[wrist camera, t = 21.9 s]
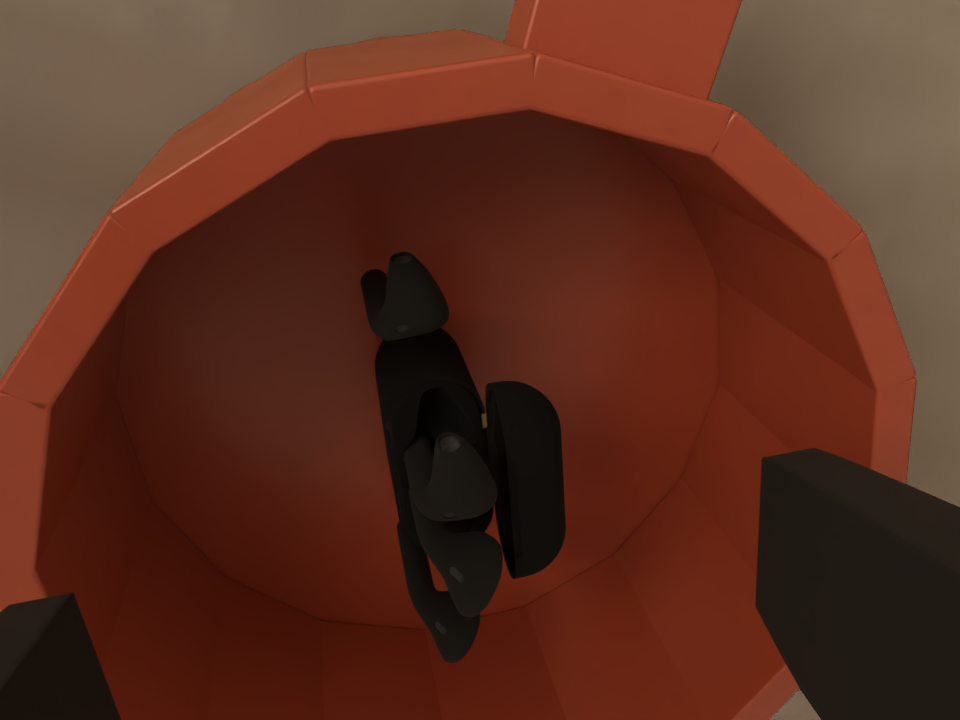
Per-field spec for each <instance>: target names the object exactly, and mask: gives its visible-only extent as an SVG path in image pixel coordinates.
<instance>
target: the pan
mask: <svg viewBox="0 0 960 720" xmlns="http://www.w3.org/2000/svg"><path fill="white" fill-rule="evenodd" d="M741 2H742V0H515V4H514V8H513V11H512V15H511V19H510V23H509V27H508V31H507V34H506V38H505V41H502V40H498V39H495V38H491V37H488V36H484V35H481V34H477V33H474V32H470V31H467V30H456V29H450V30H443V31H436V32H430V33H423V34H416V35H407V36H393V37H380V38H375V39H371V40H366V41H361V42H357V43H352V44H348V45H341V46H334V47H327V48H320V49H313V50H308V51H307V52H306V53H304V52H302V53H300V54H298V55H297V56H295V57H293V58H292V59H290V60H289V61H287V62H286V63H284V64H282V65H281V66H279V67H278V68H276V69H275V70H273V71H271V72H270V73H268V74H267V75H265V76H264V77H262V78H260V79H258V80H256V81H254V82H253V83H251V84H249V85H247V86H245V87H243V88H241V89H240V90H238V91H237V92H236V93H234V94H233V95H231V96H230V97H229V98H227V99H226V100H225V101H223V102H222V103H221V104H219V105H218V106H217V107H215V108H213V109H212V110H210V111H209V112H207V113H206V114H204V115H202V116H201V117H199V118H198V119H196V120H195V121H193V122H191V123H190V124H188V125H187V126H185V127H184V128H182V129H180V130H179V131H177V132H176V133H174V134H173V136H172V137H171V138H170V139H169V140H168V141H167V142H166V143H165V144H164V146H163V147H162V148H161V149H160V150H159V152H158V153H157V154H156V155H155V156H154V158H153V159H152V160H151V161H150V162H149V163H148V165H147V166H146V167H145V168H144V169H143V171H142V172H141V173H140V174H139V175H138V177H137V178H136V179H135V180H134V181H133V183H132V184H131V185H130V186H129V187H128V189H127V190H126V191H125V192H124V193H123V195H122V196H121V197H120V198H119V199H118V201H117V202H116V203H115V204H114V205H113V206H112V208H111V209H110V210H109V211H108V212H107V214H106V215H105V216H104V218H103V219H102V221H101V222H100V224H99V226H98V227H97V229H96V230H95V232H94V233H93V235H92V237H91V238H90V240H89V241H88V243H87V245H86V246H85V248H84V249H83V251H82V252H81V254H80V256H79V257H78V259H77V260H76V262H75V263H74V265H73V267H72V268H71V270H70V271H69V273H68V275H67V276H66V278H65V279H64V281H63V282H62V284H61V286H60V287H59V289H58V290H57V292H56V293H55V295H54V297H53V298H52V300H51V301H50V303H49V305H48V306H47V308H46V309H45V311H44V312H43V314H42V316H41V317H40V319H39V320H38V322H37V323H36V325H35V327H34V328H33V330H32V331H31V333H30V335H29V336H28V338H27V339H26V341H25V342H24V344H23V346H22V347H21V349H20V350H19V352H18V354H17V355H16V357H15V358H14V360H13V361H12V363H11V365H10V366H9V368H8V369H7V371H6V372H5V374H4V376H3V377H2V379H1V380H0V612H1V611H2V610H3V609H5V608H6V607H7V606H8V605H11V604H16V603H21V602H26V601H31V600H37V599H42V598H47V597H52V596H57V595H62V594H67V593H72V592H73V593H74V595H75V598H76V601H77V603H78V606H79V609H80V611H81V614H82V617H83V619H84V622H85V625H86V627H87V630H88V633H89V635H90V638H91V641H92V643H93V646H94V649H95V651H96V654H97V657H98V659H99V662H100V665H101V667H102V670H103V673H104V675H105V678H106V681H107V683H108V686H109V689H110V691H111V694H112V697H113V699H114V702H115V705H116V707H117V710H118V713H119V715H120V718H121V720H769V719H770V718H771V717H772V716H773V715H774V714H775V713H776V712H777V711H778V710H779V709H780V708H781V707H782V706H783V705H784V704H785V703H786V702H787V701H788V700H789V699H790V698H791V697H792V696H793V695H794V694H795V693H796V692H797V691H798V690H799V689H800V688H799V686H798V685H797V683H796V681H795V679H794V677H793V676H792V674H791V672H790V670H789V669H788V667H787V665H786V663H785V661H784V660H783V658H782V656H781V654H780V653H779V651H778V649H777V647H776V645H775V643H774V641H773V639H772V637H771V635H770V633H769V632H768V630H767V628H766V626H765V624H764V622H763V620H762V618H761V616H760V614H759V612H758V610H757V608H756V607H755V601H756V578H757V555H758V532H759V509H760V487H761V464H762V458H763V457H768V456H773V455H778V454H784V453H789V452H794V451H799V450H804V449H809V448H817V449H820V450H823V451H826V452H828V453H831V454H834V455H837V456H839V457H842V458H845V459H847V460H850V461H852V462H855V463H857V464H860V465H862V466H864V467H867V468H869V469H871V470H874V471H876V472H879V473H881V474H883V475H886V476H888V477H890V478H893V479H895V480H897V481H900V482H902V483H904V484H906V479H907V470H908V460H909V450H910V440H911V430H912V420H913V411H914V401H915V391H916V378H915V377H914V376H915V370H914V367H913V364H912V362H911V359H910V356H909V353H908V350H907V348H906V345H905V342H904V339H903V336H902V334H901V331H900V328H899V325H898V322H897V319H896V317H895V314H894V311H893V308H892V305H891V303H890V300H889V297H888V294H887V291H886V288H885V286H884V283H883V280H882V277H881V274H880V272H879V269H878V266H877V263H876V260H875V257H874V255H873V252H872V249H871V246H870V243H869V241H868V238H867V235H866V233H865V232H864V231H863V230H862V227H861V225H860V224H859V223H858V222H857V221H856V220H855V219H854V218H853V217H852V216H851V215H849V214H848V213H847V212H846V211H845V210H844V209H843V208H842V207H841V206H840V205H839V204H838V203H836V202H835V201H834V200H833V199H832V198H831V197H830V196H829V195H828V194H827V193H826V192H825V191H824V190H822V189H821V188H820V187H819V186H818V185H817V184H816V183H815V182H814V181H813V180H812V179H811V178H809V177H808V176H807V175H806V174H805V173H804V172H803V171H802V170H801V169H800V168H799V167H798V166H797V165H795V164H794V163H793V162H792V161H791V160H790V159H789V158H788V157H787V156H786V155H785V154H784V153H782V152H781V151H780V150H779V149H778V148H777V147H776V146H775V145H774V144H773V143H772V142H771V141H769V140H768V139H767V138H766V137H765V136H764V135H763V134H762V133H761V132H760V131H759V130H758V129H757V128H755V127H754V126H753V125H752V124H751V123H750V122H749V121H748V120H747V119H746V118H745V117H744V116H742V115H741V114H740V113H739V112H737V111H734V110H732V109H731V108H730V107H729V106H726V105H723V104H719V103H716V102H712V101H709V100H708V97H709V94H710V91H711V88H712V85H713V83H714V80H715V77H716V74H717V71H718V68H719V65H720V62H721V60H722V57H723V54H724V51H725V48H726V45H727V42H728V39H729V37H730V34H731V31H732V28H733V25H734V22H735V19H736V16H737V14H738V11H739V8H740V5H741ZM399 252H409V253H411V254H412V255H414V256H415V257H416V258H417V259H418V260H419V261H420V262H421V263H422V264H423V265H424V266H425V267H426V268H427V270H428V271H429V272H430V274H431V275H432V276H433V278H434V279H435V281H436V283H437V284H438V286H439V287H440V289H441V291H442V293H443V295H444V297H445V299H446V301H447V304H448V308H449V318H448V321H447V322H446V323H445V324H444V325H443V326H442V327H441V328H442V329H443V330H445V331H446V332H447V333H448V334H450V335H451V336H452V338H453V339H454V341H455V342H456V343H457V345H458V347H459V349H460V352H461V354H462V356H463V359H464V361H465V363H466V365H467V368H468V370H469V372H470V375H471V377H472V379H473V382H474V384H475V386H476V388H477V391H478V393H479V395H480V398H481V400H482V402H483V405H484V408H485V413H486V402H485V392H486V385H487V384H488V383H493V382H499V381H517V382H522V383H525V384H528V385H530V386H532V387H534V388H535V389H537V390H539V391H540V392H541V393H543V394H544V395H545V396H546V397H547V398H548V399H549V401H550V402H551V403H552V404H553V406H554V408H555V410H556V412H557V414H558V417H559V420H560V425H561V437H562V458H563V478H564V499H565V519H566V532H565V539H564V542H563V545H562V548H561V549H560V551H559V553H558V555H557V556H556V558H555V559H554V560H553V562H552V563H550V564H549V565H548V566H547V567H546V568H544V569H543V570H541V571H540V572H538V573H535V574H533V575H530V576H526V577H521V578H516V579H513V578H512V577H511V576H510V574H509V571H508V568H507V565H506V562H505V559H504V555H503V568H502V573H501V577H500V581H499V583H498V586H497V589H496V591H495V593H494V595H493V597H492V599H491V601H490V602H489V604H488V605H487V606H486V608H485V609H484V610H483V611H482V612H481V613H480V625H479V629H478V632H477V635H476V638H475V640H474V642H473V644H472V646H471V648H470V650H469V652H468V653H467V654H466V656H465V657H463V658H462V659H461V660H460V661H458V662H456V663H448V662H446V661H445V660H444V659H443V658H442V656H441V654H440V652H439V650H438V648H437V646H436V644H435V642H434V639H433V637H432V635H431V633H430V631H429V629H428V628H427V626H426V625H425V623H424V622H423V620H422V619H421V617H420V616H419V614H418V613H417V611H416V609H415V608H414V606H413V603H412V601H411V598H410V596H409V593H408V589H407V584H406V578H405V573H404V567H403V561H402V556H401V550H400V545H399V539H398V533H397V523H398V521H399V516H398V511H397V506H396V500H395V495H394V490H393V484H392V479H391V473H390V468H389V463H388V457H387V451H386V444H385V437H384V430H383V424H382V417H381V410H380V403H379V396H378V390H377V383H376V376H375V358H376V353H377V351H378V348H379V346H380V344H381V343H382V341H383V339H381V338H379V337H378V336H377V335H376V334H375V333H374V332H373V331H372V329H371V328H370V325H369V322H368V318H367V313H366V308H365V303H364V298H363V293H362V288H361V283H360V280H361V277H362V275H363V274H364V273H365V272H366V271H368V270H371V269H380V270H382V271H383V272H385V274H386V276H387V274H388V266H389V260H390V257H391V256H392V255H394V254H396V253H399ZM486 422H487V416H486ZM485 533H487V534H489V535H491V536H493V537H494V538H495V539H496V540H497V541H498V542H499V543H500V545H501V542H500V537H499V532H498V527H497V520H496V513H495V505H494V512H493V516H492V520H491V522H490V524H489V526H488V528H487V529H486V531H485ZM501 548H502V547H501ZM502 553H503V551H502ZM427 556H428V555H427ZM428 560H429V565H430V569H431V574H432V578H433V583H434V586H435V588H436V590H438V591H448V588H447V586H446V584H445V581H444V579H443V577H442V576H441V574H440V573H439V571H438V570H437V568H436V567H435V565H434V564H433V563H432V561H431V560H430V558H429V557H428Z"/></svg>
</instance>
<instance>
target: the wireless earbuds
mask: <svg viewBox="0 0 960 720" xmlns="http://www.w3.org/2000/svg"><path fill="white" fill-rule="evenodd" d="M360 283H361V288H362V293H363V298H364V303H365V308H366V313H367V318H368V322H369V325H370V328H371V329H372V331H373V332H374V333H375V334H376V335H377V336H378V337H379V338H381V339H383V341H382V343H381V344H380V346H379V348H378V351H377V353H376V358H375V376H376V383H377V390H378V396H379V403H380V410H381V417H382V424H383V430H384V437H385V444H386V451H387V457H388V463H389V468H390V473H391V479H392V484H393V490H394V495H395V500H396V506H397V511H398V516H399V521H398V523H397V533H398V539H399V545H400V550H401V556H402V561H403V567H404V573H405V578H406V584H407V589H408V593H409V596H410V598H411V601H412V603H413V606H414V608H415V609H416V611H417V613H418V614H419V616H420V617H421V619H422V620H423V622H424V623H425V625H426V626H427V628H428V629H429V631H430V633H431V635H432V637H433V639H434V642H435V644H436V646H437V648H438V650H439V652H440V654H441V656H442V658H443V659H444V660H445V661H446V662H448V663H456V662H458V661H460V660H461V659H462V658H463V657H465V656H466V654H467V653H468V652H469V650H470V648H471V646H472V644H473V642H474V640H475V638H476V635H477V632H478V629H479V625H480V613H481V612H482V611H483V610H484V609H485V608H486V606H487V605H488V604H489V602H490V601H491V599H492V597H493V595H494V593H495V591H496V589H497V586H498V583H499V581H500V577H501V573H502V568H503V555H504V559H505V562H506V565H507V568H508V571H509V574H510V576H511V577H512V578H513V579H516V578H521V577H526V576H530V575H533V574H535V573H538V572H540V571H541V570H543V569H544V568H546V567H547V566H548V565H549V564H550V563H552V562H553V560H554V559H555V558H556V556H557V555H558V553H559V551H560V549H561V548H562V545H563V542H564V539H565V532H566V519H565V499H564V478H563V458H562V437H561V425H560V420H559V417H558V414H557V412H556V410H555V408H554V406H553V404H552V403H551V402H550V401H549V399H548V398H547V397H546V396H545V395H544V394H543V393H541V392H540V391H539V390H537V389H535V388H534V387H532V386H530V385H528V384H525V383H522V382H517V381H499V382H493V383H488V384H487V385H486V392H485V402H486V413H485V408H484V405H483V402H482V400H481V398H480V395H479V393H478V391H477V388H476V386H475V384H474V382H473V379H472V377H471V375H470V372H469V370H468V368H467V365H466V363H465V361H464V359H463V356H462V354H461V352H460V349H459V347H458V345H457V343H456V342H455V341H454V339H453V338H452V336H451V335H450V334H448V333H447V332H446V331H445V330H443V329H442V328H441V327H442V326H443V325H444V324H445V323H446V322H447V321H448V318H449V308H448V304H447V301H446V299H445V297H444V295H443V293H442V291H441V289H440V287H439V286H438V284H437V283H436V281H435V279H434V278H433V276H432V275H431V274H430V272H429V271H428V270H427V268H426V267H425V266H424V265H423V264H422V263H421V262H420V261H419V260H418V259H417V258H416V257H415V256H414V255H412V254H411V253H409V252H399V253H396V254H394V255H392V256H391V257H390V260H389V266H388V274H387V276H386V274H385V272H383V271H382V270H380V269H371V270H368V271H366V272H365V273H364V274H363V275H362V277H361V280H360ZM486 416H487V422H486ZM494 505H495V513H496V520H497V527H498V532H499V537H500V542H501V545H500V543H499V542H498V541H497V540H496V539H495V538H494V537H493V536H491V535H489V534H487V533H485V531H486V529H487V528H488V526H489V524H490V522H491V520H492V516H493V512H494ZM501 547H502V548H501ZM502 551H503V553H502ZM427 555H428V556H427ZM428 557H429V558H430V560H431V561H432V563H433V564H434V565H435V567H436V568H437V570H438V571H439V573H440V574H441V576H442V577H443V579H444V581H445V584H446V586H447V588H448V591H438V590H436V588H435V586H434V583H433V578H432V574H431V569H430V565H429V560H428Z"/></svg>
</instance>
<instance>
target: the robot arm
mask: <svg viewBox="0 0 960 720" xmlns="http://www.w3.org/2000/svg"><path fill="white" fill-rule="evenodd" d="M755 607H756V608H757V610H758V612H759V614H760V616H761V618H762V620H763V622H764V624H765V626H766V628H767V630H768V632H769V633H770V635H771V637H772V639H773V641H774V643H775V645H776V647H777V649H778V651H779V653H780V654H781V656H782V658H783V660H784V661H785V663H786V665H787V667H788V669H789V670H790V672H791V674H792V676H793V677H794V679H795V681H796V683H797V685H798V686H799V688H800V690H801V691H802V692H803V694H804V695H805V697H806V698H807V700H808V701H809V703H810V704H811V705H812V707H813V708H814V710H815V711H816V713H817V714H818V715H819V717H820V718H821V720H960V507H957V506H955V505H953V504H950V503H948V502H946V501H943V500H941V499H939V498H937V497H934V496H932V495H930V494H927V493H925V492H923V491H920V490H918V489H916V488H914V487H911V486H909V485H907V484H904V483H902V482H900V481H897V480H895V479H893V478H890V477H888V476H886V475H883V474H881V473H879V472H876V471H874V470H871V469H869V468H867V467H864V466H862V465H860V464H857V463H855V462H852V461H850V460H847V459H845V458H842V457H839V456H837V455H834V454H831V453H828V452H826V451H823V450H820V449H817V448H809V449H804V450H799V451H794V452H789V453H784V454H778V455H773V456H768V457H763V458H762V464H761V487H760V509H759V532H758V555H757V578H756V601H755ZM0 720H121V718H120V715H119V713H118V710H117V707H116V705H115V702H114V699H113V697H112V694H111V691H110V689H109V686H108V683H107V681H106V678H105V675H104V673H103V670H102V667H101V665H100V662H99V659H98V657H97V654H96V651H95V649H94V646H93V643H92V641H91V638H90V635H89V633H88V630H87V627H86V625H85V622H84V619H83V617H82V614H81V611H80V609H79V606H78V603H77V601H76V598H75V595H74V593H73V592H72V593H67V594H62V595H57V596H52V597H47V598H42V599H37V600H31V601H26V602H21V603H16V604H11V605H8V606H7V607H6V608H5V609H3V610H2V611H1V612H0Z"/></svg>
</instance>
